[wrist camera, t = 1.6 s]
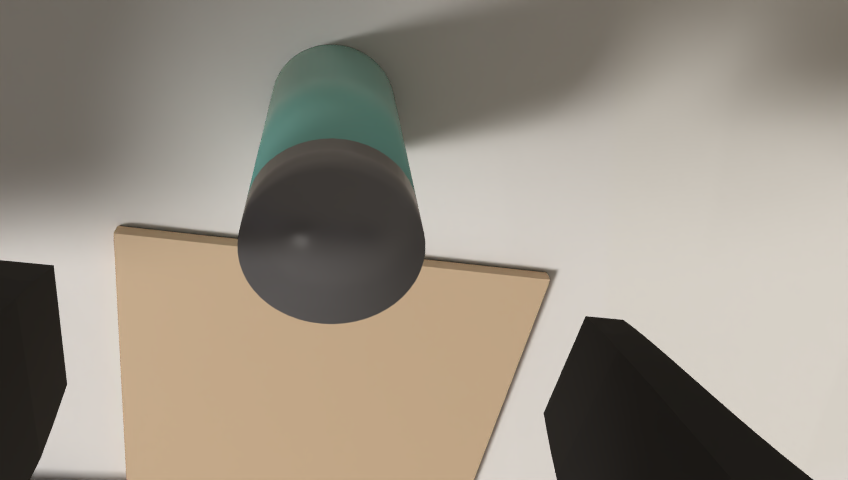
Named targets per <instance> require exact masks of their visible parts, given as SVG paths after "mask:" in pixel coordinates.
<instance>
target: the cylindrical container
mask: <svg viewBox="0 0 848 480" xmlns="http://www.w3.org/2000/svg"><path fill="white" fill-rule="evenodd" d="M237 247H238V258H239V263H240V266H241V269H242V272H243V274H244V276H245V278H246V280H247V282H248V283H249V285H250V286H251V287H252V289H253V290H254V291H255V292H256V293H257V294H258V295H259V296H260V298H262V299H263V300H264V301H265V302H266V303H268V304H269V305H270V306H272V307H273V308H275V309H277V310H278V311H280V312H282V313H284V314H286V315H288V316H291V317H294V318H296V319H299V320H303V321H307V322H312V323H320V324H343V323H350V322H356V321H359V320H363V319H367V318H369V317H372V316H374V315H377V314H379V313H381V312H382V311H384V310H386V309H388V308H389V307H391V306H392V305H394V304H395V303H396V302H397V301H399V300H400V299H401V298H402V297H403V296H404V295H405V294H406V293H407V292H408V291H409V290H410V288H411V287H412V285H413V284H414V282H415V281H416V279H417V277H418V275H419V273H420V271H421V268H422V265H423V261H424V256H425V238H424V231H423V227H422V222H421V218H420V213H419V209H418V204H417V199H416V195H415V190H414V186H413V181H412V177H411V172H410V168H409V163H408V158H407V154H406V149H405V145H404V140H403V136H402V131H401V127H400V122H399V117H398V113H397V108H396V104H395V99H394V95H393V91H392V87H391V84H390V82H389V80H388V78H387V76H386V74H385V73H384V71H383V70H382V69H381V68H380V66H379V65H378V64H377V63H376V62H375V61H374V60H373V59H371V58H370V57H368V56H367V55H366V54H364V53H362V52H360V51H358V50H355V49H353V48H350V47H346V46H341V45H322V46H316V47H313V48H310V49H307V50H305V51H303V52H301V53H299V54H298V55H296V56H295V57H293V58H292V59H291V60H290V61H289V62H288V63H287V64H286V65H285V66H284V67H283V69H282V70H281V72H280V73H279V75H278V77H277V79H276V82H275V85H274V88H273V92H272V96H271V101H270V105H269V109H268V113H267V117H266V121H265V126H264V130H263V134H262V138H261V142H260V146H259V151H258V155H257V159H256V163H255V167H254V171H253V176H252V180H251V184H250V188H249V192H248V196H247V201H246V205H245V209H244V213H243V217H242V221H241V226H240V230H239V235H238V242H237Z"/></svg>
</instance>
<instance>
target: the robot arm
mask: <svg viewBox="0 0 848 480" xmlns="http://www.w3.org/2000/svg"><path fill="white" fill-rule="evenodd" d="M66 386H67V380H66V371H65V362H64V353H63V344H62V335H61V327H60V318H59V309H58V300H57V291H56V282H55V274H54V265H43V264H33V263H22V262H12V261H2V260H0V480H30V478H31V476H32V474H33V472H34V470H35V468H36V466H37V464H38V462H39V460H40V458H41V456H42V453H43V450H44V448H45V445H46V442H47V439H48V437H49V434H50V431H51V429H52V426H53V423H54V421H55V418H56V415H57V412H58V409H59V406H60V403H61V400H62V397H63V395H64V392H65V389H66ZM544 417H545V423H546V428H547V434H548V439H549V445H550V450H551V454H552V459H553V463H554V468H555V473H556V477H557V480H813V479H812V478H810V477H809V476H808V475H807V474H805V473H804V472H803V471H802V470H800V469H799V468H798V467H797V466H795V465H794V464H793V463H792V462H790V461H789V460H788V459H787V458H785V457H784V456H783V455H782V454H780V453H779V452H778V451H777V450H776V449H774V448H773V447H772V446H771V445H770V444H768V443H767V442H766V441H765V440H764V439H762V438H761V437H760V436H759V435H758V434H756V433H755V432H754V431H753V430H752V429H751V428H749V427H748V426H747V425H746V424H745V423H744V422H742V421H741V420H740V419H739V418H738V417H737V416H735V415H734V414H733V413H732V412H731V411H730V410H728V409H727V408H726V407H725V406H724V405H723V404H722V403H720V402H719V401H718V400H717V399H716V398H715V397H714V396H712V395H711V394H710V393H709V392H708V391H707V390H706V389H704V388H703V387H702V386H701V385H700V384H699V383H698V382H696V381H695V380H694V379H693V378H692V377H691V376H690V375H689V374H687V373H686V372H685V371H684V370H683V369H682V368H681V367H679V366H678V365H677V364H676V363H675V362H674V361H673V360H671V359H670V358H669V357H668V356H667V355H666V354H665V353H663V352H662V351H661V350H660V349H659V348H658V347H656V346H655V345H654V344H653V343H652V342H651V341H649V340H648V339H647V338H646V337H645V336H643V335H642V334H641V333H640V332H638V331H637V330H636V329H635V328H633V327H632V326H631V325H629V324H628V323H627V322H625V321H624V320H618V319H608V318H597V317H587V316H586V317H585V319H584V322H583V324H582V326H581V328H580V331H579V333H578V335H577V338H576V340H575V342H574V345H573V347H572V349H571V352H570V354H569V356H568V358H567V361H566V363H565V365H564V368H563V370H562V372H561V375H560V377H559V379H558V381H557V384H556V386H555V388H554V391H553V393H552V395H551V398H550V400H549V402H548V405H547V407H546V409H545V411H544Z"/></svg>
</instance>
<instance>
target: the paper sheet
mask: <svg viewBox="0 0 848 480" xmlns="http://www.w3.org/2000/svg"><path fill="white" fill-rule="evenodd" d="M237 242H238V239H234V238H225V237H215V236H206V235H197V234H188V233H179V232H169V231H160V230H151V229H142V228H133V227H124V226H117V228H116V230H115V232H114V250H115V269H116V288H117V307H118V326H119V345H120V365H121V384H122V403H123V422H124V441H125V460H126V479H127V480H474V478H475V475H476V473H477V470H478V468H479V465H480V462H481V460H482V457H483V454H484V452H485V449H486V447H487V444H488V441H489V439H490V436H491V434H492V431H493V428H494V426H495V423H496V420H497V418H498V415H499V413H500V410H501V407H502V405H503V402H504V400H505V397H506V394H507V392H508V389H509V386H510V384H511V381H512V379H513V376H514V373H515V371H516V368H517V365H518V363H519V360H520V358H521V355H522V352H523V350H524V347H525V345H526V342H527V339H528V337H529V334H530V331H531V329H532V326H533V324H534V321H535V318H536V316H537V313H538V311H539V308H540V305H541V303H542V300H543V297H544V295H545V292H546V290H547V287H548V284H549V282H550V278H549V276H548V274H547V273H546V272H537V271H527V270H518V269H509V268H500V267H491V266H482V265H472V264H463V263H454V262H445V261H436V260H426V259H424V261H423V265H422V268H421V271H420V273H419V275H418V277H417V279H416V281H415V282H414V284H413V285H412V287H411V288H410V290H409V291H408V292H407V293H406V294H405V295H404V296H403V297H402V298H401V299H400V300H399V301H397V302H396V303H395V304H394V305H392V306H391V307H389V308H388V309H386V310H384V311H382V312H381V313H379V314H377V315H374V316H372V317H369V318H367V319H363V320H359V321H356V322H350V323H343V324H320V323H312V322H307V321H303V320H299V319H296V318H294V317H291V316H288V315H286V314H284V313H282V312H280V311H278V310H277V309H275V308H273V307H272V306H270V305H269V304H268V303H266V302H265V301H264V300H263V299H262V298H260V296H259V295H258V294H257V293H256V292H255V291H254V290H253V289H252V287H251V286H250V285H249V283H248V282H247V280H246V278H245V276H244V274H243V272H242V269H241V266H240V263H239V258H238V247H237Z"/></svg>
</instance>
